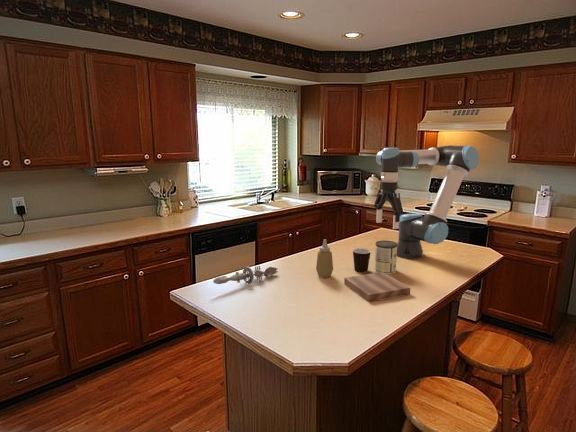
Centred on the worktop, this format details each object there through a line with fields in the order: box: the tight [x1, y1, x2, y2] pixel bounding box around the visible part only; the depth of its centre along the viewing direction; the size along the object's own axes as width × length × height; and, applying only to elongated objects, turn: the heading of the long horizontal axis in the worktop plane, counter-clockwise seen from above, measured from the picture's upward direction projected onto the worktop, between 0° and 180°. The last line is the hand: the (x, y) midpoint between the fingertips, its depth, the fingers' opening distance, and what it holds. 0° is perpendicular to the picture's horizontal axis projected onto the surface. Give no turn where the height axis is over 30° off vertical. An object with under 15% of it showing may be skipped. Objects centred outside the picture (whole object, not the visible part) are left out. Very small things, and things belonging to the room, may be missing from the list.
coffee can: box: [374, 239, 398, 275], centre depth 184 cm, size 10×10×14 cm
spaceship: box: [213, 265, 279, 285], centre depth 170 cm, size 8×35×8 cm
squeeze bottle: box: [315, 239, 334, 279], centre depth 177 cm, size 8×8×18 cm
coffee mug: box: [352, 247, 372, 274], centre depth 184 cm, size 12×9×10 cm
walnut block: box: [343, 272, 411, 303], centre depth 163 cm, size 20×20×3 cm
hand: (387, 225), depth 181 cm, fingers open, 13 cm apart
